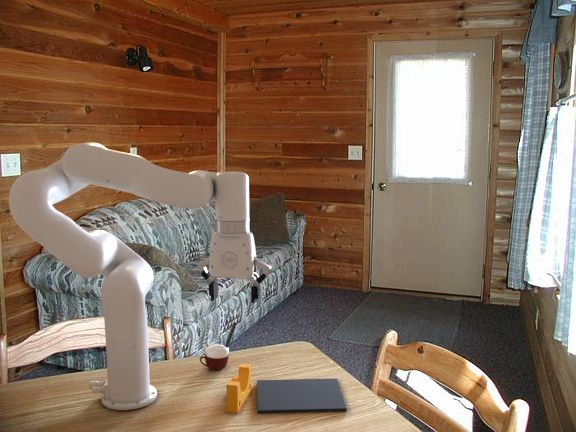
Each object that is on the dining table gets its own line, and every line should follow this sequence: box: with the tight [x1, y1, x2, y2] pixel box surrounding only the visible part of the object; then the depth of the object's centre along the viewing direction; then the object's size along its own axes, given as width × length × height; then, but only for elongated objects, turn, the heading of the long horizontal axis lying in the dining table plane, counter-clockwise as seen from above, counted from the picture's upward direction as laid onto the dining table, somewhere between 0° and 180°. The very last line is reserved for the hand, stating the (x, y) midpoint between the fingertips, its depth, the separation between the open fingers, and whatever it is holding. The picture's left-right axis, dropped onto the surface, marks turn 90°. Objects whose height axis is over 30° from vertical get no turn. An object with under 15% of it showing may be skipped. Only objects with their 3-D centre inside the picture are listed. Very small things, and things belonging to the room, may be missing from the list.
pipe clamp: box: [225, 363, 253, 414], centre depth 145 cm, size 12×4×6 cm, turn 168°
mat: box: [256, 377, 348, 415], centre depth 147 cm, size 20×16×1 cm
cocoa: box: [199, 320, 238, 371], centre depth 163 cm, size 10×6×12 cm, turn 89°
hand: (234, 300), depth 142 cm, fingers open, 9 cm apart
